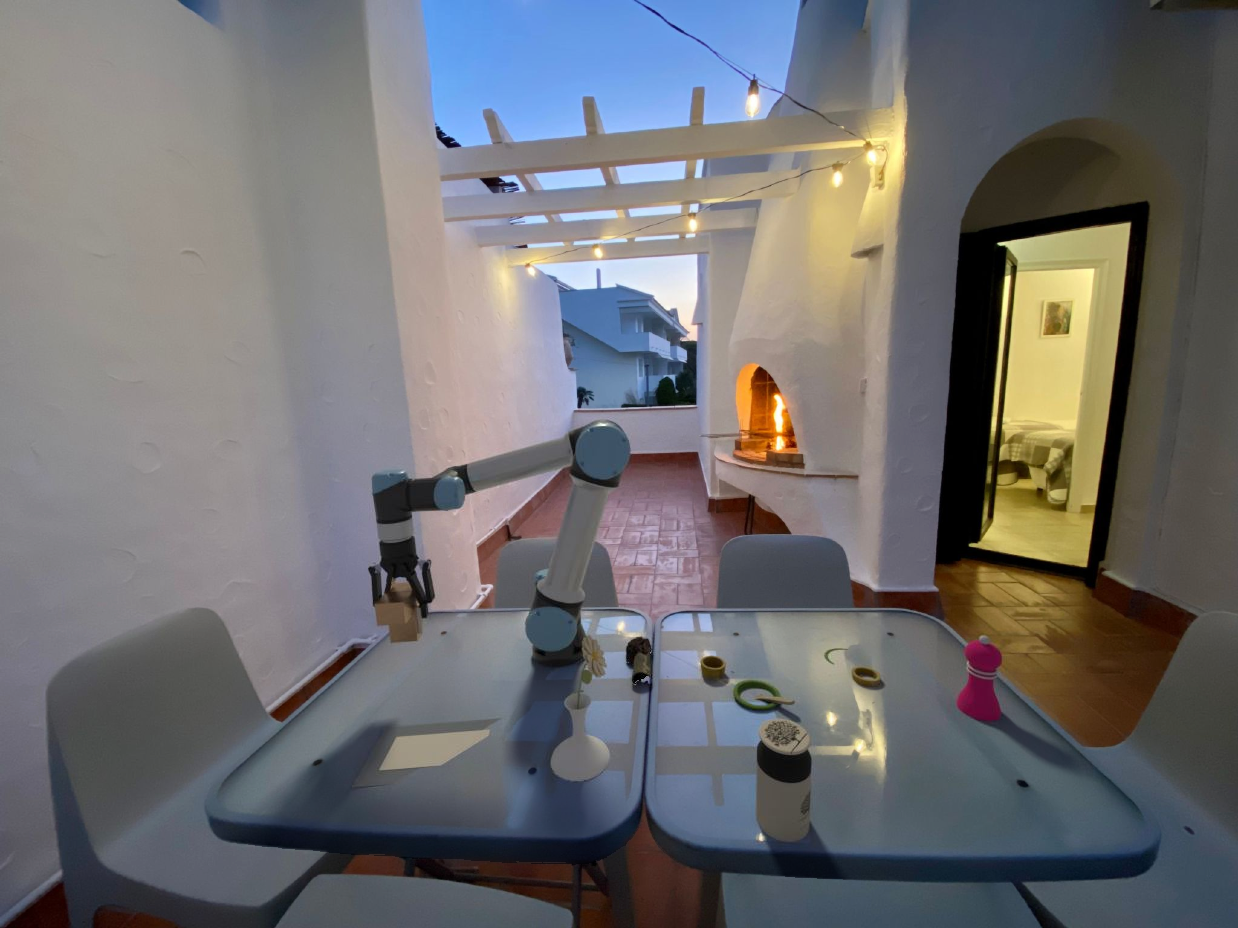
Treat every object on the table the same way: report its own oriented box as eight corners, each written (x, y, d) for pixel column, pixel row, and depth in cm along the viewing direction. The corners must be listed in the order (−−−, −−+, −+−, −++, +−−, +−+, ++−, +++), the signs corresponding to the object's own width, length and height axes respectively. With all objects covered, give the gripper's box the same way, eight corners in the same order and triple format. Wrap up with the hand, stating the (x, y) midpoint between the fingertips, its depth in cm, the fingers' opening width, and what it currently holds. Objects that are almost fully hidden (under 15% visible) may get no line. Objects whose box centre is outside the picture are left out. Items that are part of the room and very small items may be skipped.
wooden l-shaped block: (425, 628, 120) (420, 581, 118) (409, 653, 108) (403, 602, 106) (400, 630, 119) (394, 583, 117) (381, 655, 108) (374, 604, 106)
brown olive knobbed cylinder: (652, 689, 115) (652, 667, 114) (623, 688, 116) (623, 666, 115) (652, 651, 133) (652, 631, 132) (627, 650, 133) (627, 631, 132)
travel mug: (745, 833, 78) (746, 731, 76) (775, 806, 83) (777, 710, 80) (789, 871, 72) (792, 762, 69) (819, 840, 77) (822, 736, 74)
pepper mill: (986, 744, 96) (995, 649, 92) (947, 722, 102) (954, 632, 99) (1006, 731, 99) (1015, 639, 96) (967, 711, 105) (975, 623, 102)
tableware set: (708, 729, 103) (708, 702, 102) (695, 657, 130) (695, 634, 129) (912, 731, 100) (914, 703, 99) (855, 657, 128) (856, 634, 127)
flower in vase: (588, 801, 85) (581, 669, 81) (538, 776, 91) (529, 651, 87) (626, 753, 96) (622, 634, 92) (580, 733, 102) (574, 620, 98)
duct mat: (509, 721, 107) (509, 716, 106) (497, 779, 91) (496, 774, 91) (386, 731, 105) (385, 726, 105) (351, 792, 89) (350, 786, 89)
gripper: (443, 530, 117) (453, 621, 121) (361, 535, 116) (373, 627, 119) (434, 539, 110) (444, 636, 113) (346, 545, 108) (359, 643, 112)
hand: (408, 631), depth 116 cm, fingers closed on wooden l-shaped block, 6 cm apart
